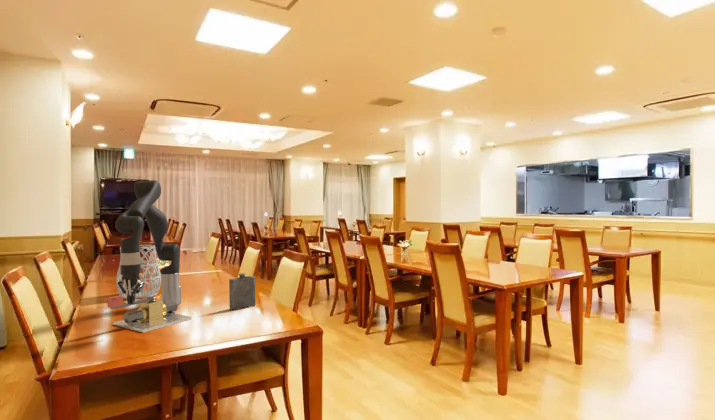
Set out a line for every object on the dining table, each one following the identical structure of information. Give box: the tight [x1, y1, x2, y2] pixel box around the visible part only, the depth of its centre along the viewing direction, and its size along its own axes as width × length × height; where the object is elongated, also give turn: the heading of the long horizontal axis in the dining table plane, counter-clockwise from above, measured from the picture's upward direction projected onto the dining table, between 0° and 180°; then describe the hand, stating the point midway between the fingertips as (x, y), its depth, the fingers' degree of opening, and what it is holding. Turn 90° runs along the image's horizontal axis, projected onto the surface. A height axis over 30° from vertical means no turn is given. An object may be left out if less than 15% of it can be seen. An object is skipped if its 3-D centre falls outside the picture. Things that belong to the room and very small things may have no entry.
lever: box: [107, 294, 157, 310], centre depth 187 cm, size 21×4×5 cm, turn 150°
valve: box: [113, 298, 192, 333], centre depth 195 cm, size 24×23×10 cm
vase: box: [115, 244, 161, 300], centre depth 254 cm, size 24×24×30 cm
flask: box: [228, 272, 257, 310], centre depth 222 cm, size 4×14×18 cm, turn 129°
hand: (131, 303), depth 177 cm, fingers closed
